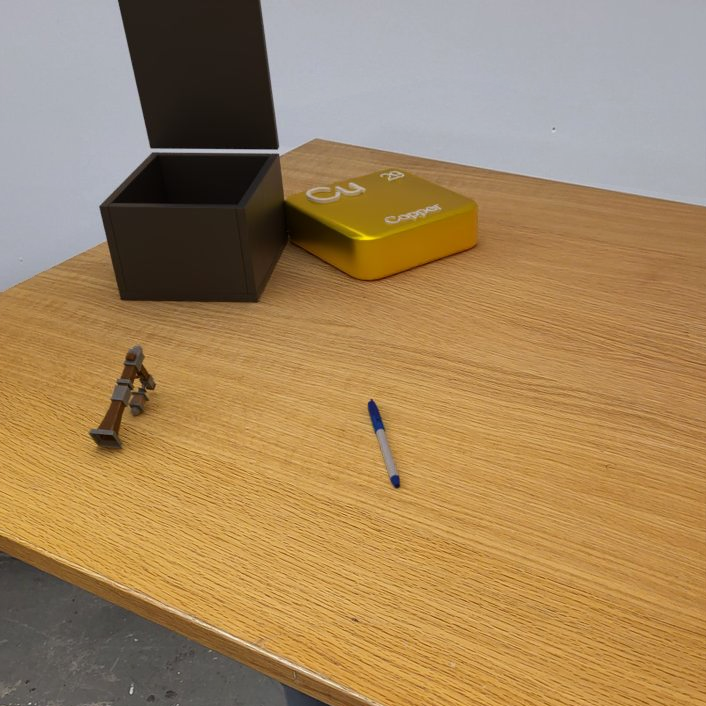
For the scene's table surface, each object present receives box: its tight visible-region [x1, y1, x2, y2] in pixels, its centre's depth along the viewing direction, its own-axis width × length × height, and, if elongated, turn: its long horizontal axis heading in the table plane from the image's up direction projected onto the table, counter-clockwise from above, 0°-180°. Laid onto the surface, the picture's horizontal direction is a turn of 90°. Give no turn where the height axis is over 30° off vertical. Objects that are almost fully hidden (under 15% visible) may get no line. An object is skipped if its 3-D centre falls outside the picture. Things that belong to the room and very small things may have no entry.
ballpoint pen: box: [367, 398, 401, 489], centre depth 65 cm, size 10×1×1 cm, turn 15°
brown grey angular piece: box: [87, 344, 157, 449], centre depth 68 cm, size 2×8×4 cm, turn 171°
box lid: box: [117, 0, 280, 151], centre depth 88 cm, size 15×13×5 cm
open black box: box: [98, 151, 290, 303], centre depth 88 cm, size 15×13×9 cm
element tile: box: [284, 167, 479, 281], centre depth 94 cm, size 15×15×5 cm
